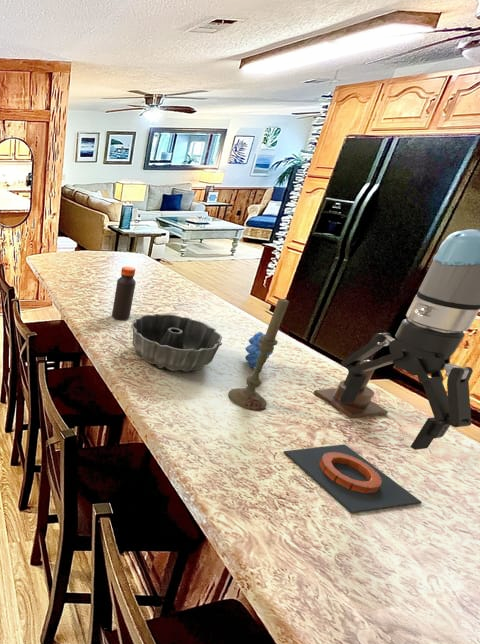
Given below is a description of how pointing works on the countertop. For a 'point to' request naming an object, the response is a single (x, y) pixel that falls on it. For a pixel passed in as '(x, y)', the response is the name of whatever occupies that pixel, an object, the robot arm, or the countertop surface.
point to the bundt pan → (175, 341)
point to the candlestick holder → (260, 364)
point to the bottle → (124, 294)
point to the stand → (361, 403)
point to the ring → (345, 481)
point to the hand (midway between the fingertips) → (379, 423)
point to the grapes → (254, 349)
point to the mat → (351, 500)
